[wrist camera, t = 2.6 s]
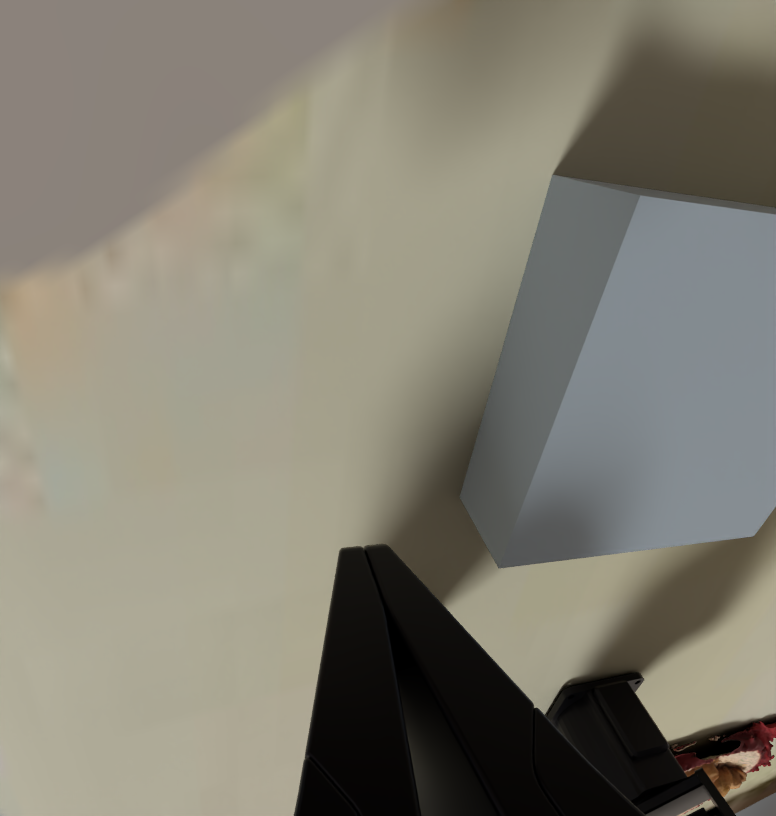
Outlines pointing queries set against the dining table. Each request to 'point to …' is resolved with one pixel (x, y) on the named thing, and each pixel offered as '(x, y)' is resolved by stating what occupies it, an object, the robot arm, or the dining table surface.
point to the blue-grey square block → (632, 379)
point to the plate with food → (732, 758)
